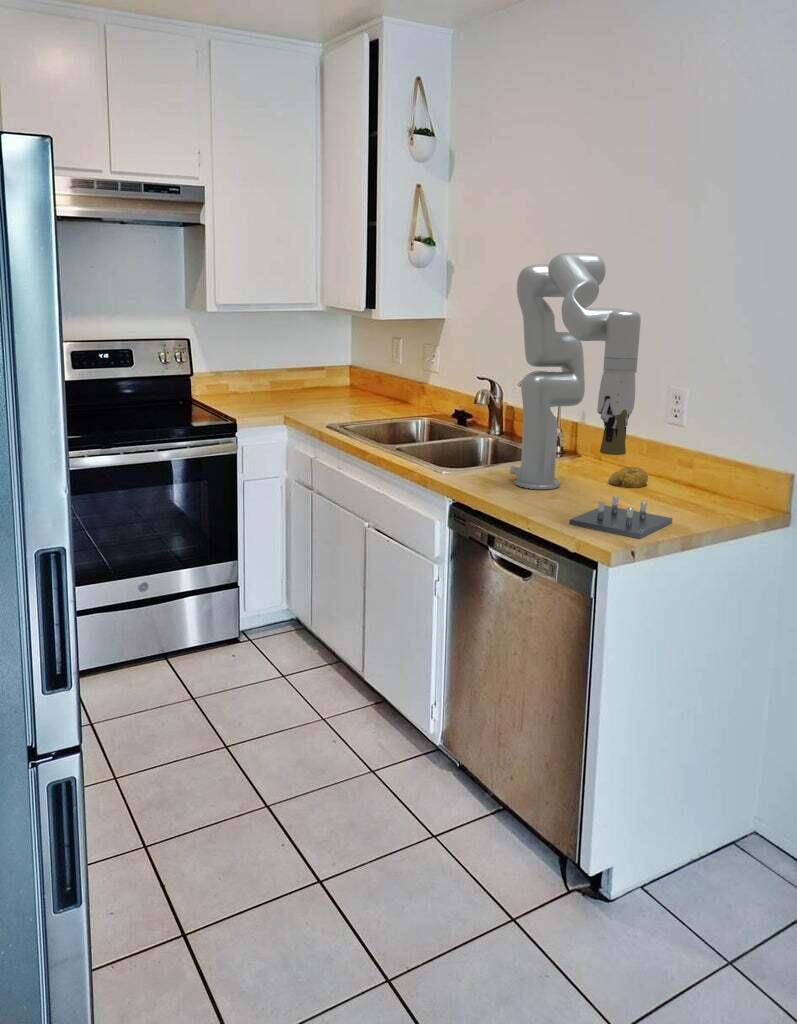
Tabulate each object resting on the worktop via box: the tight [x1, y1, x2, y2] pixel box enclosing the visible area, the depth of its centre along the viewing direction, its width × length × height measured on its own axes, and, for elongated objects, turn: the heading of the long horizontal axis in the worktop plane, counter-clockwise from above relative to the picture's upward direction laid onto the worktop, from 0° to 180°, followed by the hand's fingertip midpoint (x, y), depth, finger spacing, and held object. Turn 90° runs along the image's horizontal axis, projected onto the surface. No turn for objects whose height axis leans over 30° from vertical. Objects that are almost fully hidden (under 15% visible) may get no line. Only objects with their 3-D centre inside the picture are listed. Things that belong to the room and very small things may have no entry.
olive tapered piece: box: [599, 410, 627, 456], centre depth 214 cm, size 6×6×11 cm
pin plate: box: [569, 496, 673, 540], centre depth 219 cm, size 18×18×5 cm
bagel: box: [608, 466, 649, 489], centre depth 259 cm, size 10×11×5 cm
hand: (614, 443), depth 215 cm, fingers closed on olive tapered piece, 3 cm apart
